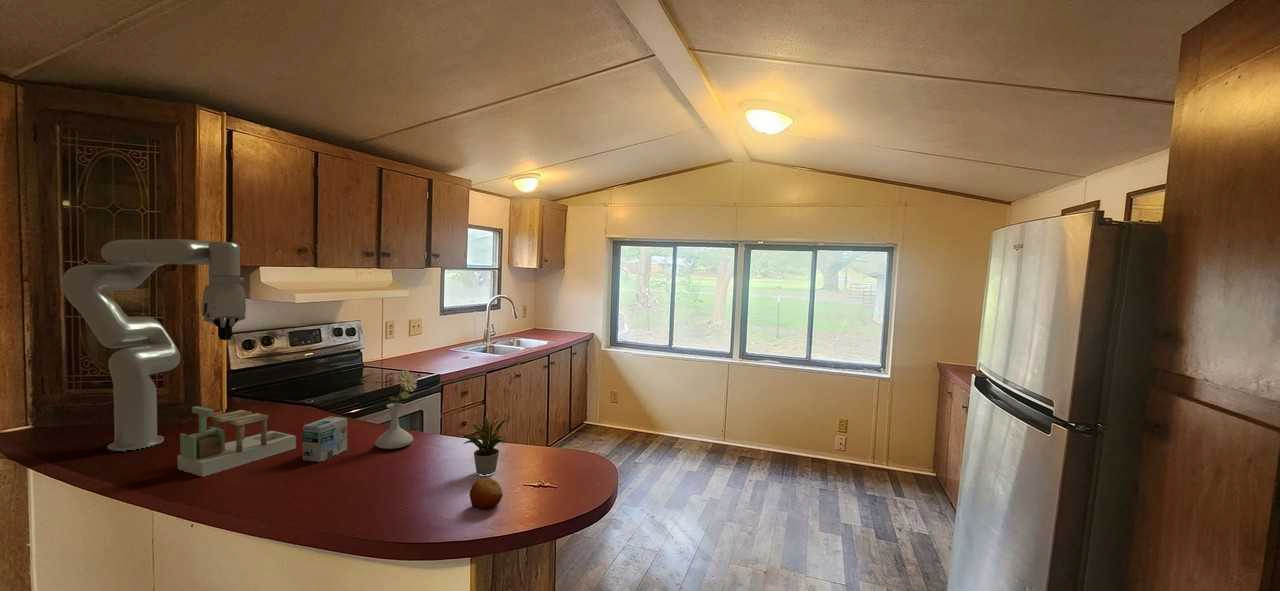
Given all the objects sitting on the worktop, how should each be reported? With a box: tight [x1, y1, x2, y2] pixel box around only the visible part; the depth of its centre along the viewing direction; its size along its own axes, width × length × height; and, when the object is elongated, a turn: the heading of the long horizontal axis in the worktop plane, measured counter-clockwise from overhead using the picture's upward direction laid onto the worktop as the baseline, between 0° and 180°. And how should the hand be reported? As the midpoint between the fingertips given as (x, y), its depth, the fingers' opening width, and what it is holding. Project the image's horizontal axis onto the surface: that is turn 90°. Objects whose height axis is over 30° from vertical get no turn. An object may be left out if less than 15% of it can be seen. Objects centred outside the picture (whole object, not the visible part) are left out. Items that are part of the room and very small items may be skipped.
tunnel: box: [211, 409, 269, 452], centre depth 148 cm, size 13×8×9 cm, turn 68°
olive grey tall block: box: [179, 405, 226, 460], centre depth 139 cm, size 8×7×13 cm
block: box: [196, 434, 221, 459], centre depth 140 cm, size 5×5×5 cm
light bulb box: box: [302, 415, 348, 463], centre depth 152 cm, size 11×7×11 cm, turn 168°
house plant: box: [459, 416, 511, 475], centre depth 143 cm, size 14×14×16 cm
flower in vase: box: [374, 369, 418, 450], centre depth 162 cm, size 13×11×25 cm
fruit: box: [469, 477, 503, 511], centre depth 122 cm, size 8×8×8 cm
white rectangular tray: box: [177, 430, 297, 478], centre depth 148 cm, size 12×25×4 cm, turn 158°
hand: (225, 339), depth 154 cm, fingers closed
